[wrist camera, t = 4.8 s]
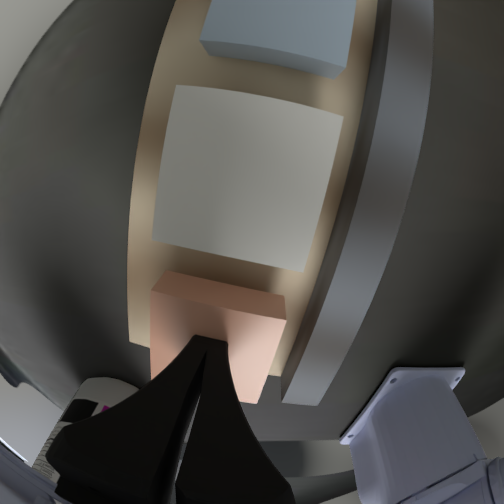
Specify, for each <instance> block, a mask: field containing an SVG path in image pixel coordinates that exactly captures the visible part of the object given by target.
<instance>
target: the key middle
mask: <svg viewBox="0 0 504 504" xmlns="http://www.w3.org/2000/svg"><path fill="white" fill-rule="evenodd" d="M343 118H344V116H340V115H337V114H334V113H331V112H327V111H324V110H320V109H317V108H313V107H309V106H305V105H301V104H297V103H293V102H289V101H285V100H280V99H276V98H271V97H266V96H261V95H255V94H250V93H244V92H238V91H231V90H224V89H216V88H208V87H198V86H187V85H176V87H175V92H174V96H173V100H172V105H171V110H170V114H169V119H168V124H167V130H166V135H165V140H164V146H163V152H162V158H161V164H160V171H159V178H158V185H157V193H156V202H155V210H154V220H153V231H152V240H153V241H158V242H162V243H167V244H171V245H176V246H180V247H185V248H190V249H194V250H199V251H203V252H208V253H213V254H217V255H222V256H227V257H231V258H236V259H241V260H245V261H250V262H255V263H259V264H264V265H269V266H274V267H278V268H283V269H288V270H293V271H298V272H302V273H303V272H304V268H305V265H306V262H307V258H308V255H309V252H310V248H311V245H312V241H313V238H314V234H315V231H316V227H317V224H318V220H319V216H320V213H321V209H322V205H323V201H324V198H325V194H326V190H327V186H328V182H329V178H330V174H331V170H332V166H333V162H334V158H335V153H336V149H337V145H338V140H339V136H340V131H341V127H342V122H343Z"/></svg>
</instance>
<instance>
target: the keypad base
mask: <svg viewBox="0 0 504 504" xmlns="http://www.w3.org/2000/svg"><path fill="white" fill-rule="evenodd" d="M211 2H212V0H176V2H175V4H174V7H173V10H172V12H171V15H170V18H169V21H168V24H167V27H166V30H165V33H164V36H163V39H162V42H161V45H160V49H159V52H158V55H157V59H156V62H155V66H154V70H153V74H152V78H151V82H150V86H149V90H148V94H147V99H146V103H145V108H144V113H143V118H142V123H141V129H140V134H139V140H138V147H137V153H136V160H135V168H134V176H133V184H132V194H131V205H130V217H129V233H128V260H127V298H128V324H129V340H130V342H133V343H136V344H139V345H142V346H145V347H149V348H150V292H151V289H152V288H153V286H154V285H155V284H156V283H157V281H158V280H159V279H160V277H161V276H162V275H163V273H164V272H165V271H166V270H168V271H172V272H177V273H181V274H185V275H190V276H194V277H198V278H203V279H207V280H212V281H216V282H221V283H225V284H230V285H235V286H239V287H244V288H249V289H254V290H258V291H263V292H268V293H273V294H278V295H283V296H284V298H285V308H286V318H287V321H286V324H285V327H284V330H283V333H282V336H281V339H280V342H279V344H278V347H277V350H276V353H275V356H274V359H273V361H272V364H271V367H270V370H269V372H268V375H274V376H281V401H282V403H291V404H301V405H313V406H317V405H318V404H319V402H320V400H321V399H322V397H323V395H324V394H325V392H326V390H327V389H328V387H329V385H330V383H331V382H332V380H333V378H334V376H335V375H336V373H337V371H338V369H339V367H340V365H341V364H342V362H343V360H344V358H345V356H346V354H347V352H348V350H349V348H350V346H351V344H352V342H353V340H354V338H355V336H356V334H357V332H358V330H359V328H360V326H361V324H362V321H363V319H364V317H365V315H366V313H367V310H368V308H369V306H370V304H371V301H372V299H373V297H374V294H375V292H376V289H377V287H378V285H379V282H380V280H381V277H382V275H383V272H384V269H385V267H386V264H387V261H388V259H389V256H390V253H391V250H392V248H393V245H394V242H395V239H396V236H397V233H398V230H399V227H400V224H401V221H402V217H403V214H404V211H405V207H406V204H407V201H408V197H409V193H410V190H411V186H412V182H413V178H414V174H415V170H416V166H417V161H418V157H419V152H420V148H421V143H422V138H423V132H424V127H425V121H426V115H427V108H428V101H429V93H430V84H431V74H432V61H433V39H434V13H433V0H356V8H355V15H354V22H353V29H352V35H351V41H350V47H349V53H348V59H347V64H346V68H345V69H344V70H343V71H342V72H341V73H340V74H339V75H338V76H337V77H336V78H335V79H334V80H333V79H330V78H326V77H323V76H319V75H316V74H312V73H308V72H304V71H300V70H296V69H292V68H287V67H282V66H278V65H273V64H267V63H262V62H256V61H250V60H243V59H236V58H227V57H218V56H209V55H208V53H207V51H206V50H205V48H204V47H203V45H202V44H201V42H200V41H199V39H200V35H201V32H202V29H203V26H204V22H205V19H206V16H207V13H208V10H209V7H210V5H211ZM176 85H187V86H198V87H208V88H216V89H224V90H231V91H238V92H244V93H250V94H255V95H261V96H266V97H271V98H276V99H280V100H285V101H289V102H293V103H297V104H301V105H305V106H309V107H313V108H317V109H320V110H324V111H327V112H331V113H334V114H337V115H340V116H344V118H343V122H342V127H341V131H340V136H339V140H338V145H337V149H336V153H335V158H334V162H333V166H332V170H331V174H330V178H329V182H328V186H327V190H326V194H325V198H324V201H323V205H322V209H321V213H320V216H319V220H318V224H317V227H316V231H315V234H314V238H313V241H312V245H311V248H310V252H309V255H308V258H307V262H306V265H305V268H304V272H303V273H302V272H298V271H293V270H288V269H283V268H278V267H274V266H269V265H264V264H259V263H255V262H250V261H245V260H241V259H236V258H231V257H227V256H222V255H217V254H213V253H208V252H203V251H199V250H194V249H190V248H185V247H180V246H176V245H171V244H167V243H162V242H158V241H153V240H152V231H153V220H154V210H155V202H156V193H157V185H158V178H159V171H160V164H161V158H162V152H163V146H164V140H165V135H166V130H167V124H168V119H169V114H170V110H171V105H172V100H173V96H174V92H175V87H176Z"/></svg>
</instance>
